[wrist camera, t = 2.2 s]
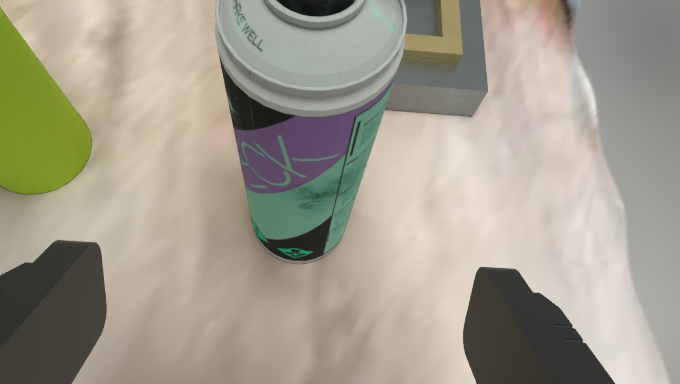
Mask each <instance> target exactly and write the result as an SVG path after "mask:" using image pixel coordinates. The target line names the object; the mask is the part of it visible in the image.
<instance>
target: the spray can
mask: <svg viewBox="0 0 680 384" xmlns="http://www.w3.org/2000/svg"><path fill="white" fill-rule="evenodd" d="M215 16H216V25H215V36H216V42H217V47H218V53H219V58H220V63H221V68H222V73H223V78H224V83H225V88H226V92H227V97H228V102H229V107H230V112H231V117H232V122H233V127H234V132H235V137H236V142H237V147H238V152H239V157H240V162H241V167H242V172H243V177H244V182H245V187H246V192H247V197H248V202H249V207H250V212H251V217H252V222H253V227H254V231H255V233H256V236H257V238H258V240H259V242H260V243H261V245H262V246H263V248H264V249H265V250H266V251H268V252H269V253H270V254H271V255H273V256H274V257H276V258H277V259H280V260H282V261H285V262H289V263H294V264H305V263H310V262H314V261H317V260H319V259H321V258H323V257H325V256H326V255H328V254H329V253H330V252H331V251H332V250H333V249H334V248H335V247H336V246H337V244H338V243H339V241H340V240H341V238H342V235H343V233H344V230H345V228H346V224H347V221H348V218H349V215H350V212H351V209H352V206H353V203H354V200H355V197H356V194H357V191H358V188H359V185H360V182H361V179H362V176H363V173H364V170H365V167H366V164H367V161H368V158H369V155H370V152H371V149H372V146H373V143H374V140H375V137H376V134H377V131H378V128H379V125H380V122H381V119H382V116H383V113H384V110H385V107H386V104H387V101H388V98H389V95H390V92H391V89H392V86H393V83H394V80H395V77H396V74H397V71H398V68H399V65H400V61H401V58H402V55H403V50H404V43H405V33H406V26H407V13H406V5H405V2H404V0H216V6H215Z"/></svg>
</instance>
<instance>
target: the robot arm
mask: <svg viewBox="0 0 680 384" xmlns="http://www.w3.org/2000/svg"><path fill="white" fill-rule="evenodd" d="M106 310H107V307H106V295H105V285H104V275H103V265H102V255H101V250H100V247H99V245H98V244H97V243H95V242H80V241H64V240H57V241H55V242H53V243H52V244H51V245H50V246H49V247H48V248H47V249H46V250H45V251H44V252H43V253H42V254H41V255H40V256H39V257H38V258H37V259H36V260H35V261H34V262H33V263H24V264H22V265H20V266H18V267H16V268H14V269H12V270H10V271H8V272H6V273H4V274H3V275H1V276H0V384H72V382H73V380H74V379H75V377H76V375H77V374H78V372H79V370H80V369H81V367H82V365H83V364H84V362H85V360H86V359H87V357H88V356H89V354H90V352H91V351H92V349H93V347H94V346H95V344H96V342H97V341H98V339H99V337H100V336H101V333H102V331H103V328H104V324H105V320H106ZM463 344H464V351H465V354H466V357H467V360H468V362H469V365H470V367H471V370H472V373H473V375H474V378H475V380H476V383H477V384H615V383H614V381H613V380H612V378H611V377H610V376H609V374H608V373H607V372H606V370H605V369H604V368H603V366H602V365H601V364H600V362H599V361H598V359H597V358H596V357H595V355H594V354H593V353H592V351H591V350H590V349H589V347H588V346H587V344H586V343H583V339H582V338H581V336H580V335H579V334H578V332H577V331H576V329H574V328H572V324H571V323H570V321H569V320H568V319H567V317H566V316H565V314H564V313H563V312H562V310H561V309H560V308H559V307H558V306H556V305H555V304H554V303H552V302H551V301H550V300H548V299H547V298H546V297H544V296H543V295H542V294H540V293H533V292H532V291H531V289H530V288H529V286H528V285H527V283H526V282H525V280H524V279H523V278H522V276H521V275H520V273H519V272H518V271H517V270H516V269H508V268H492V267H480V268H479V269H478V271H477V273H476V276H475V280H474V284H473V288H472V293H471V297H470V302H469V306H468V310H467V315H466V319H465V324H464V330H463Z"/></svg>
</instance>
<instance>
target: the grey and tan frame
mask: <svg viewBox="0 0 680 384" xmlns="http://www.w3.org/2000/svg"><path fill="white" fill-rule="evenodd" d="M404 2H405V5H406V13H407V26H406V33H405V43H404V50H403V55H402V58H401V61H400V65H399V68H398V71H397V74H396V77H395V80H394V83H393V86H392V89H391V92H390V95H389V98H388V101H387V104H386V107H385V110H397V111H409V112H422V113H434V114H447V115H460V116H473V114H474V112H475V111H476V109H477V108H478V106H479V105H480V103H481V102H482V100H483V99H484V97H485V95H486V94H487V92H488V85H487V74H486V63H485V52H484V41H483V30H482V19H481V8H480V0H404Z"/></svg>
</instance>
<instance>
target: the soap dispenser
mask: <svg viewBox="0 0 680 384" xmlns="http://www.w3.org/2000/svg"><path fill="white" fill-rule="evenodd" d="M90 152H91V135H90V131H89V129H88V127H87V125H86V123H85V122H84V121H83V119H82V118H81V117H80V115H79V114H78V112H77V111H76V110H75V108H74V107H73V106H72V104H71V103H70V102H69V100H68V99H67V97H66V96H65V95H64V93H63V92H62V91H61V89H60V88H59V87H58V85H57V84H56V82H55V81H54V80H53V78H52V77H51V76H50V74H49V73H48V72H47V70H46V69H45V67H44V66H43V65H42V63H41V62H40V61H39V59H38V58H37V57H36V55H35V54H34V52H33V51H32V50H31V48H30V47H29V46H28V44H27V43H26V42H25V40H24V39H23V37H22V36H21V35H20V33H19V32H18V31H17V29H16V28H15V27H14V25H13V24H12V22H11V21H10V20H9V18H8V17H7V16H6V14H5V13H4V12H3V10H2V9H1V7H0V185H1V186H2V187H4V188H6V189H8V190H10V191H13V192H16V193H21V194H39V193H45V192H49V191H52V190H54V189H57V188H59V187H61V186H63V185H65V184H66V183H68V182H69V181H71V180H72V179H73V178H74V177H75V176H76V175H77V174H78V173H79V172H80V171H81V170H82V169H83V167H84V166H85V164H86V162H87V160H88V158H89V155H90Z"/></svg>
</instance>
